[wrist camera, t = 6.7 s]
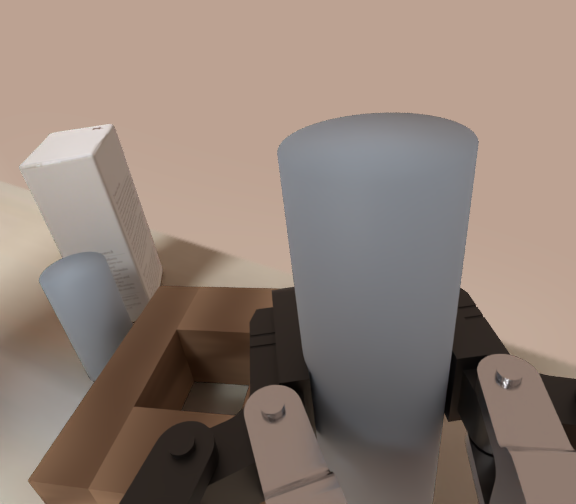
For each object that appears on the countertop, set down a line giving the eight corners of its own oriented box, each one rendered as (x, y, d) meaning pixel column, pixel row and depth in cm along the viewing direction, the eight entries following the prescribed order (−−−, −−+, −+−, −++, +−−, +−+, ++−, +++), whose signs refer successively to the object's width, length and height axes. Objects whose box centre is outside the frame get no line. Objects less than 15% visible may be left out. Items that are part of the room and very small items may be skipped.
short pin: (76, 381, 26) (24, 288, 22) (105, 340, 29) (64, 251, 25) (127, 385, 26) (83, 289, 22) (152, 343, 28) (117, 251, 24)
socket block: (68, 532, 19) (27, 480, 17) (176, 334, 29) (159, 286, 26) (297, 569, 17) (285, 515, 15) (329, 342, 27) (325, 289, 24)
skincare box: (110, 280, 35) (49, 131, 29) (164, 270, 35) (115, 121, 29) (93, 331, 30) (14, 165, 23) (156, 320, 30) (95, 152, 24)
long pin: (325, 607, 15) (257, 184, 7) (334, 507, 18) (294, 117, 9) (427, 625, 15) (498, 179, 6) (420, 518, 17) (462, 107, 9)
